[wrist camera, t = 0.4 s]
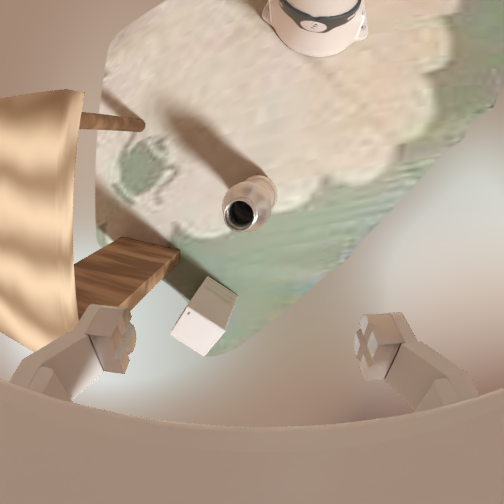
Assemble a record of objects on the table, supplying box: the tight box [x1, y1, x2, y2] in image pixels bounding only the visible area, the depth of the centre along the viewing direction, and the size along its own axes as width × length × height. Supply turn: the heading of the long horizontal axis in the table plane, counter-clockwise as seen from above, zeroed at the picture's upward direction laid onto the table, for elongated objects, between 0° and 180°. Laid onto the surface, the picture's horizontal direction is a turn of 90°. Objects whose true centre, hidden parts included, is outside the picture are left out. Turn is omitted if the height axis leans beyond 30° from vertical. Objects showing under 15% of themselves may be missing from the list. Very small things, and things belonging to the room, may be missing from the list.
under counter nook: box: [0, 89, 180, 352], centre depth 39 cm, size 27×13×34 cm, turn 170°
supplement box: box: [170, 276, 238, 356], centre depth 55 cm, size 7×7×13 cm
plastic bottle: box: [222, 175, 277, 232], centre depth 44 cm, size 6×7×20 cm
